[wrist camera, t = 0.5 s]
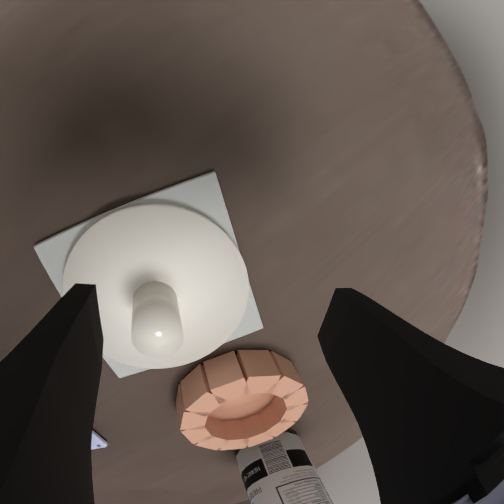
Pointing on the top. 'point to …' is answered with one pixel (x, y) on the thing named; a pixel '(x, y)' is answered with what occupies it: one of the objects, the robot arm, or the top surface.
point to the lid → (160, 283)
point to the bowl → (240, 400)
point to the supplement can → (281, 473)
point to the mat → (183, 194)
